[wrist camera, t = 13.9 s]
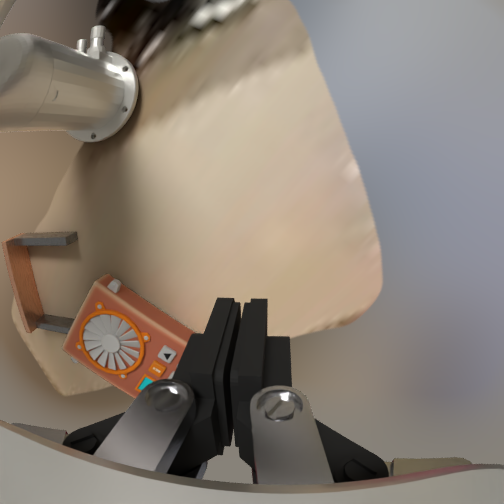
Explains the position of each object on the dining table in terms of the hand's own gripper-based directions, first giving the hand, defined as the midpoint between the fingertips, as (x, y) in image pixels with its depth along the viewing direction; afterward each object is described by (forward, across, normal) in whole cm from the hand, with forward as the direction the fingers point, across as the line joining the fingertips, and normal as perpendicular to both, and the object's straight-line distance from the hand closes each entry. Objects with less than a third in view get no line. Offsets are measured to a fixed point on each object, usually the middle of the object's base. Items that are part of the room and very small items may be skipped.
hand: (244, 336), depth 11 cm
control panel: (+26, +13, +14) cm, 33 cm away
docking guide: (+29, +34, +12) cm, 46 cm away
